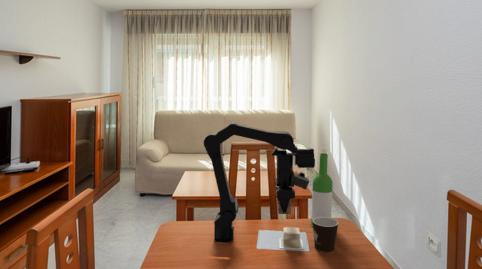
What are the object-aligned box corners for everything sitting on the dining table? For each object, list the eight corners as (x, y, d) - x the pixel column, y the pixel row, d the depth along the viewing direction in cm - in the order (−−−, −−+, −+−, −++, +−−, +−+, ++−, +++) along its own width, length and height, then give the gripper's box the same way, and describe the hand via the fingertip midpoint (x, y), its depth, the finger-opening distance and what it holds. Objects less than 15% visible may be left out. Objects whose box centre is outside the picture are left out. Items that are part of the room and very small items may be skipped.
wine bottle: (306, 226, 143) (309, 153, 139) (319, 222, 147) (322, 151, 143) (321, 233, 136) (325, 156, 132) (334, 228, 141) (338, 154, 137)
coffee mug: (337, 256, 118) (339, 227, 116) (311, 253, 119) (312, 225, 118) (335, 241, 129) (337, 215, 128) (311, 239, 131) (312, 213, 129)
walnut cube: (278, 214, 125) (278, 201, 124) (277, 209, 129) (278, 197, 129) (291, 214, 124) (291, 201, 124) (290, 209, 129) (290, 197, 128)
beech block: (283, 247, 123) (283, 233, 122) (283, 240, 128) (283, 227, 128) (299, 247, 122) (299, 234, 122) (298, 241, 128) (298, 227, 127)
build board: (256, 250, 122) (256, 247, 122) (258, 231, 137) (258, 229, 137) (309, 253, 120) (309, 250, 120) (305, 233, 136) (305, 231, 136)
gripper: (310, 174, 115) (310, 220, 117) (305, 162, 133) (304, 202, 135) (276, 174, 116) (276, 219, 118) (275, 162, 134) (275, 201, 136)
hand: (284, 210), depth 127 cm, fingers closed on walnut cube, 4 cm apart
